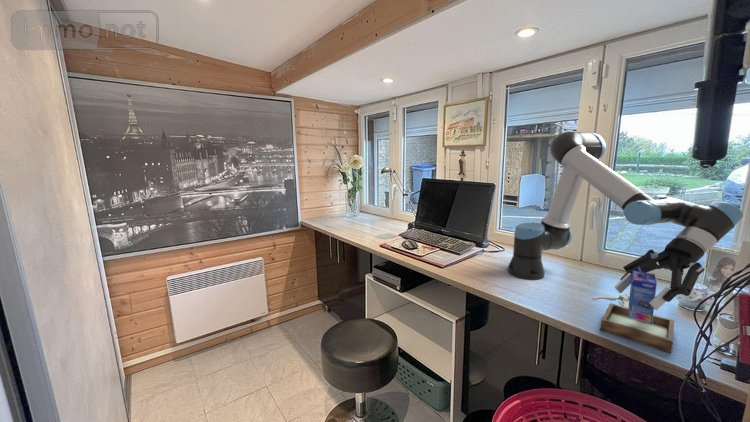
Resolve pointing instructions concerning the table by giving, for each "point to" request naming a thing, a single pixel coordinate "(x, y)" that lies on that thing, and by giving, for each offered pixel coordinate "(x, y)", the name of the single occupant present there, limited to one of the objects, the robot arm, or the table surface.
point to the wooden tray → (638, 328)
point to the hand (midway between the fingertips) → (634, 297)
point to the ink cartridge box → (642, 296)
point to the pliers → (621, 296)
